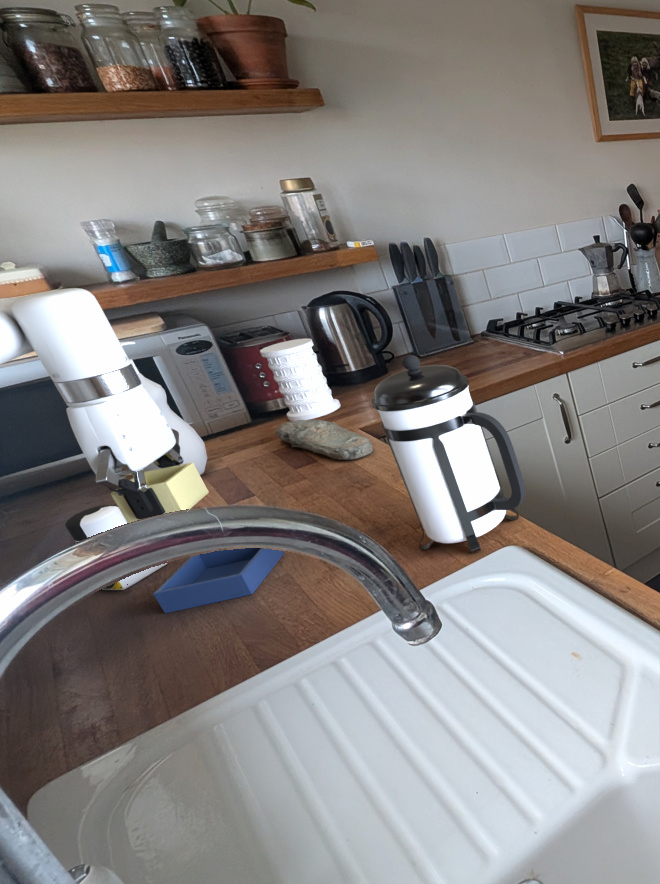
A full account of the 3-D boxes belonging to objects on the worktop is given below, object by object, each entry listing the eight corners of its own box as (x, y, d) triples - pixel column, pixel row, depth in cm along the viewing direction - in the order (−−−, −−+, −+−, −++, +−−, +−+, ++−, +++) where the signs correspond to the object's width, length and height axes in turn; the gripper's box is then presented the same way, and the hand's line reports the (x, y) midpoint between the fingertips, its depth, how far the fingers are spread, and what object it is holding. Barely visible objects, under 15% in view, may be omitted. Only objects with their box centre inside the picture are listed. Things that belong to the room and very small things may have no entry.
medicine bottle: (87, 590, 105) (44, 524, 100) (134, 562, 111) (96, 500, 106) (123, 591, 104) (82, 524, 99) (169, 563, 110) (132, 499, 105)
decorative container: (332, 415, 170) (303, 346, 163) (280, 424, 167) (249, 355, 160) (346, 400, 180) (320, 335, 173) (298, 408, 178) (269, 343, 170)
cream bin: (129, 525, 92) (109, 493, 90) (158, 502, 98) (140, 472, 96) (183, 514, 93) (166, 482, 91) (209, 492, 99) (193, 462, 97)
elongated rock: (341, 474, 139) (389, 456, 146) (333, 451, 136) (383, 433, 144) (265, 440, 156) (312, 425, 164) (258, 419, 154) (305, 405, 162)
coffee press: (418, 575, 99) (340, 384, 86) (422, 526, 112) (356, 354, 100) (540, 537, 105) (484, 353, 93) (530, 495, 118) (480, 329, 106)
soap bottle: (230, 470, 144) (163, 337, 132) (164, 496, 135) (86, 356, 123) (195, 459, 152) (129, 333, 140) (131, 483, 143) (55, 351, 131)
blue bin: (165, 613, 97) (153, 594, 95) (206, 569, 107) (196, 551, 105) (252, 594, 99) (241, 574, 97) (284, 553, 109) (275, 534, 108)
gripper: (111, 371, 95) (173, 482, 102) (14, 415, 80) (95, 542, 87) (172, 361, 96) (228, 471, 104) (88, 402, 81) (161, 528, 88)
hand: (167, 502), depth 95 cm, fingers closed on cream bin, 6 cm apart
